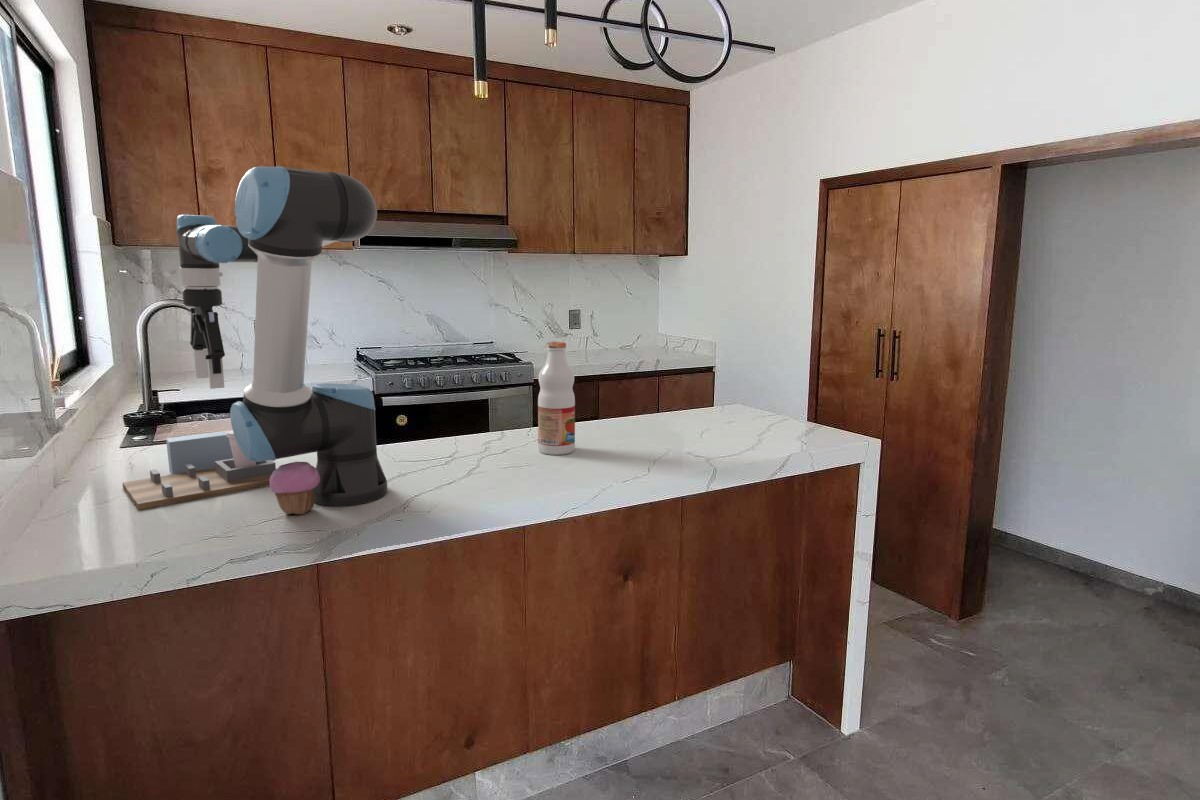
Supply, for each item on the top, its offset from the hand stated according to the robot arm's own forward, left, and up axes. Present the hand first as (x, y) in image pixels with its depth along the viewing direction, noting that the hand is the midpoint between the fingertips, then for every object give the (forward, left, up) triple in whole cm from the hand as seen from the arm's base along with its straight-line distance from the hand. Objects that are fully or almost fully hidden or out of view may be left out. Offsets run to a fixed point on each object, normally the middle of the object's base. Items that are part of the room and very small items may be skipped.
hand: (209, 382), depth 162 cm
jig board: (-10, +5, -21) cm, 23 cm away
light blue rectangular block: (+4, +2, -21) cm, 21 cm away
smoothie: (-10, -3, -20) cm, 22 cm away
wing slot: (-10, +10, -19) cm, 24 cm away
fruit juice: (-35, -71, -21) cm, 82 cm away
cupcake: (-40, -4, -21) cm, 46 cm away
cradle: (-10, -3, -19) cm, 22 cm away
